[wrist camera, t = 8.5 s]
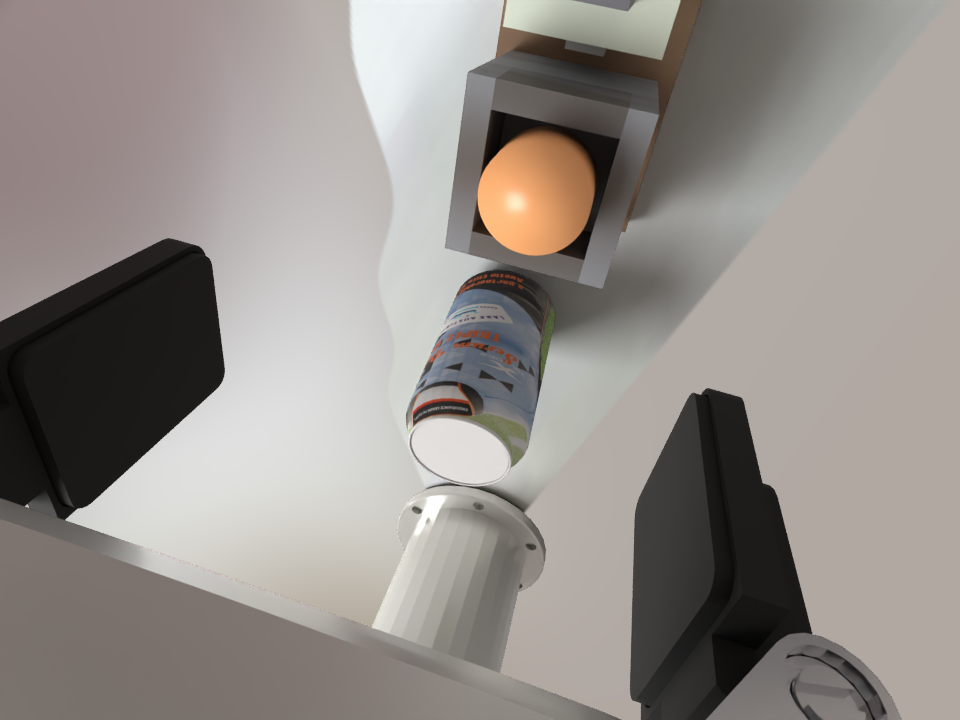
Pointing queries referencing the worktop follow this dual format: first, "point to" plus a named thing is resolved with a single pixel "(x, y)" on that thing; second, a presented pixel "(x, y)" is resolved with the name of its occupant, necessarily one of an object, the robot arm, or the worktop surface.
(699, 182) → the worktop surface
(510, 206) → the plunger
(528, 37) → the rail bench
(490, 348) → the beverage can
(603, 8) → the carriage
